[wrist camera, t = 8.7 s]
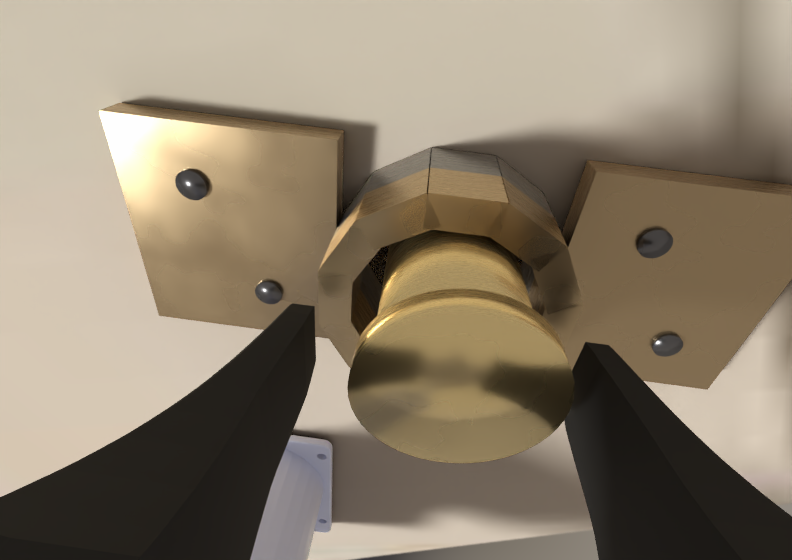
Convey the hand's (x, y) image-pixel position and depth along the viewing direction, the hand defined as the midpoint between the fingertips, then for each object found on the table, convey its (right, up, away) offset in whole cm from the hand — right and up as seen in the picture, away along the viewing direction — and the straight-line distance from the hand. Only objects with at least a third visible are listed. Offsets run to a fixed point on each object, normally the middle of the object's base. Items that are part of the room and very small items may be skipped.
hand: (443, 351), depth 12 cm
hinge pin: (+1, +3, +4) cm, 5 cm away
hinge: (0, +3, +4) cm, 5 cm away
